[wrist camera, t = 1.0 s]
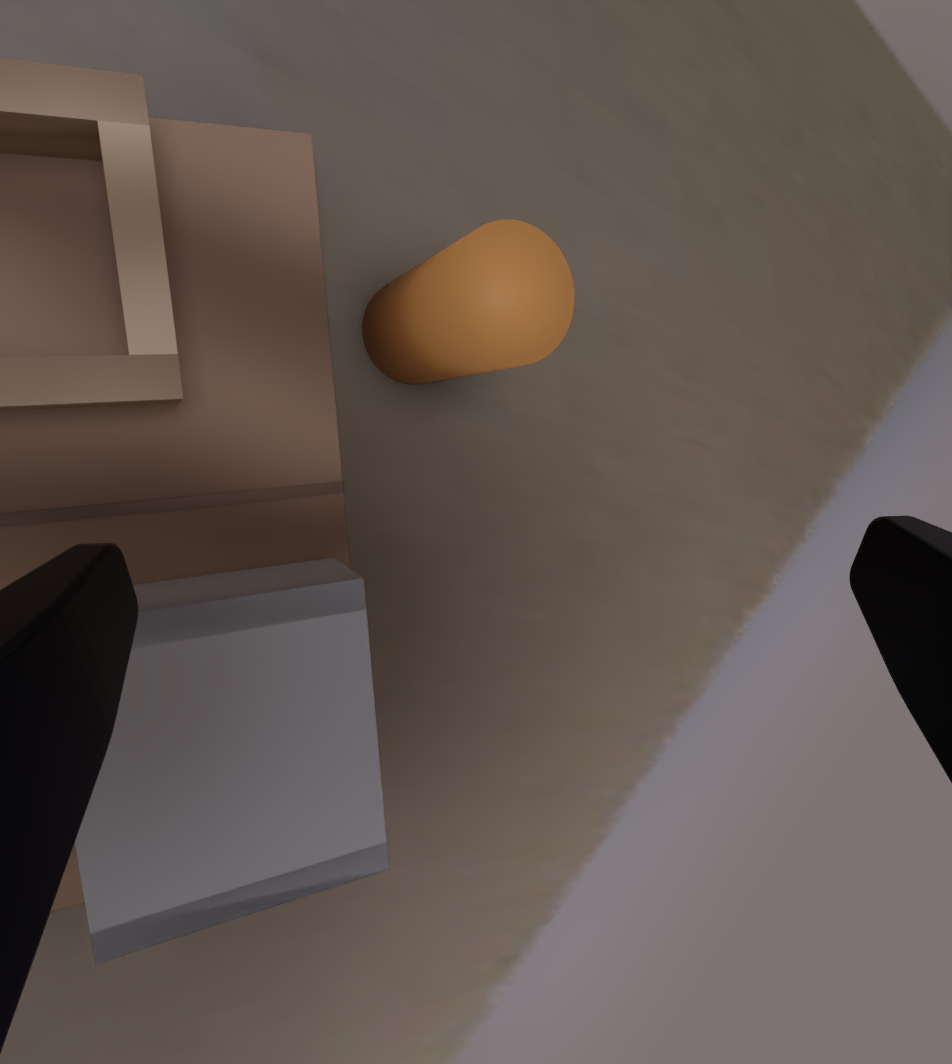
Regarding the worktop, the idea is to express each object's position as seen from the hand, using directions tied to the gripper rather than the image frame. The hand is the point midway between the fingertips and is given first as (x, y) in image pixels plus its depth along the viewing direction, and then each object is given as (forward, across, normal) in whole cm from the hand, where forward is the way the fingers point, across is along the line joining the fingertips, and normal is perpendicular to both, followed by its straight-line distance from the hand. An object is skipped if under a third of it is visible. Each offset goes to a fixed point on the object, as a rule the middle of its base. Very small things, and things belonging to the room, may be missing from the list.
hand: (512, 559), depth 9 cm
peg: (+15, +1, +2) cm, 16 cm away
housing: (+7, +7, +10) cm, 14 cm away
